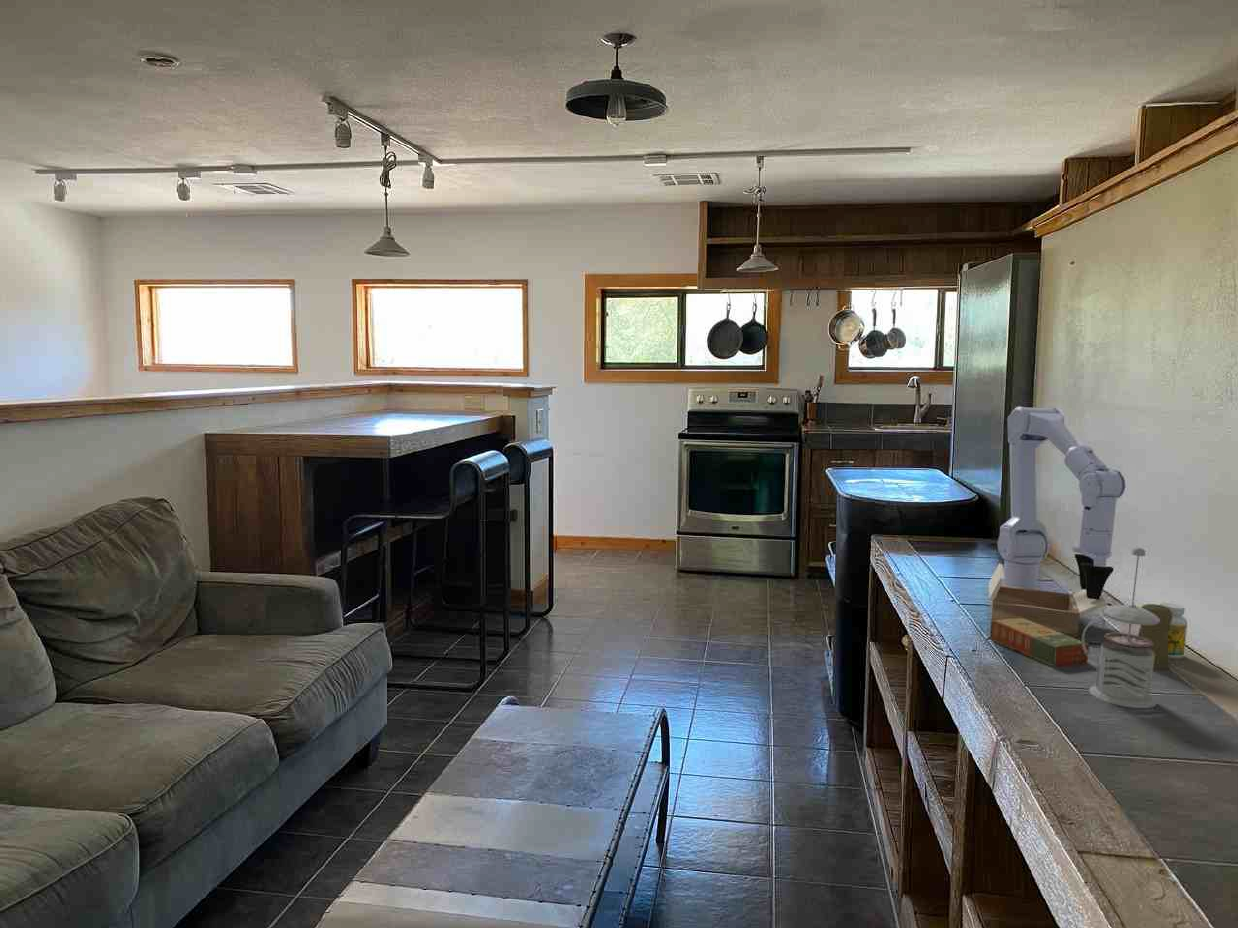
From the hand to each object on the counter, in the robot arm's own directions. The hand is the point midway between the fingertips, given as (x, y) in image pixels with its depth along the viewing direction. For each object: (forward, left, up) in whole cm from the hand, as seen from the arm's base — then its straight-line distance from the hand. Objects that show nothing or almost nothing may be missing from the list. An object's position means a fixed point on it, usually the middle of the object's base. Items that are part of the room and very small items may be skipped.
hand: (1089, 593), depth 185 cm
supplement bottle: (+11, +13, -8) cm, 18 cm away
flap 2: (0, 0, -1) cm, 1 cm away
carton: (+21, -10, -8) cm, 25 cm away
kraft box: (0, -10, -7) cm, 13 cm away
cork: (+19, +9, -8) cm, 22 cm away
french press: (+40, +1, -8) cm, 41 cm away
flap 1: (0, -17, 0) cm, 17 cm away
